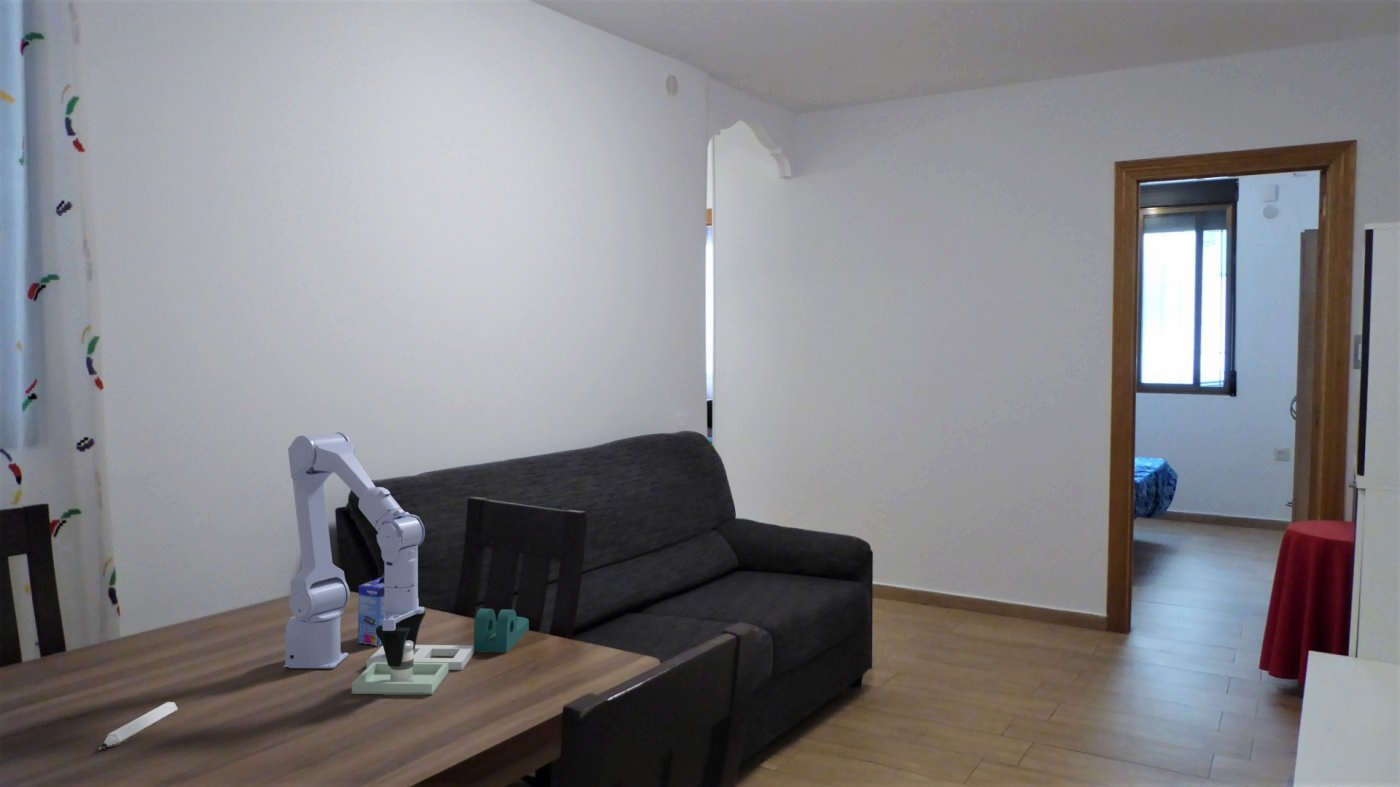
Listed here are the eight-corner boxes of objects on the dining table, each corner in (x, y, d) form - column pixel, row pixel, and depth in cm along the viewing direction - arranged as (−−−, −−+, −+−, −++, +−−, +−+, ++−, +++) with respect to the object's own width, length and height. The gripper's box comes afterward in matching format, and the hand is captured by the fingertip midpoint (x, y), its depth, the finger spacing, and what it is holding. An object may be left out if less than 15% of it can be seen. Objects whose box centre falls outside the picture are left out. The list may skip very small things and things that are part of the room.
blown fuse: (387, 685, 169) (386, 646, 168) (394, 677, 173) (394, 639, 172) (409, 685, 169) (409, 646, 168) (416, 677, 173) (416, 639, 172)
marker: (97, 760, 141) (169, 717, 157) (108, 754, 140) (179, 712, 156) (88, 744, 141) (162, 703, 157) (100, 738, 140) (172, 698, 156)
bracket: (506, 654, 189) (506, 615, 188) (474, 652, 189) (473, 613, 189) (532, 627, 206) (532, 591, 206) (502, 626, 207) (502, 590, 207)
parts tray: (351, 694, 165) (351, 683, 165) (373, 672, 176) (373, 662, 176) (431, 695, 165) (431, 684, 165) (448, 673, 176) (448, 663, 176)
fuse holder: (366, 669, 178) (366, 661, 178) (383, 651, 188) (383, 644, 188) (461, 670, 178) (461, 662, 178) (474, 652, 188) (474, 645, 188)
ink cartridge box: (379, 647, 191) (379, 576, 190) (356, 644, 193) (355, 574, 192) (408, 633, 201) (408, 565, 200) (385, 630, 202) (385, 563, 202)
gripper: (411, 595, 163) (411, 672, 163) (434, 574, 177) (434, 646, 178) (370, 594, 163) (370, 672, 163) (396, 574, 177) (397, 645, 178)
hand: (401, 658), depth 171 cm, fingers open, 7 cm apart
